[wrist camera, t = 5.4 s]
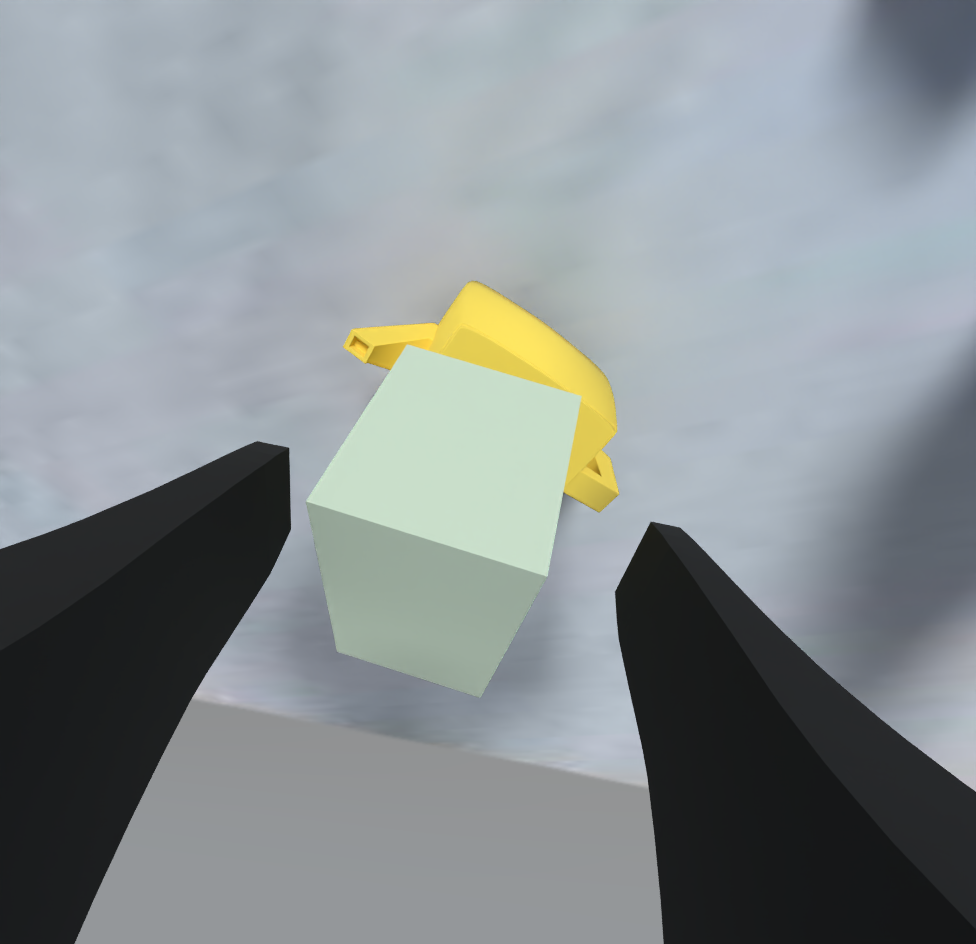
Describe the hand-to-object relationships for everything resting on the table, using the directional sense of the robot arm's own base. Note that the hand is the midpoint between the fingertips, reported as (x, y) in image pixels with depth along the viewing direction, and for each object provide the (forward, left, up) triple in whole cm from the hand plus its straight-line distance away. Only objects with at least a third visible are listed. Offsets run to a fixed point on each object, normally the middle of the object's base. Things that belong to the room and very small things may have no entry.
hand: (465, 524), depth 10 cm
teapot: (0, 0, -8) cm, 8 cm away
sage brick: (0, 0, -2) cm, 2 cm away
